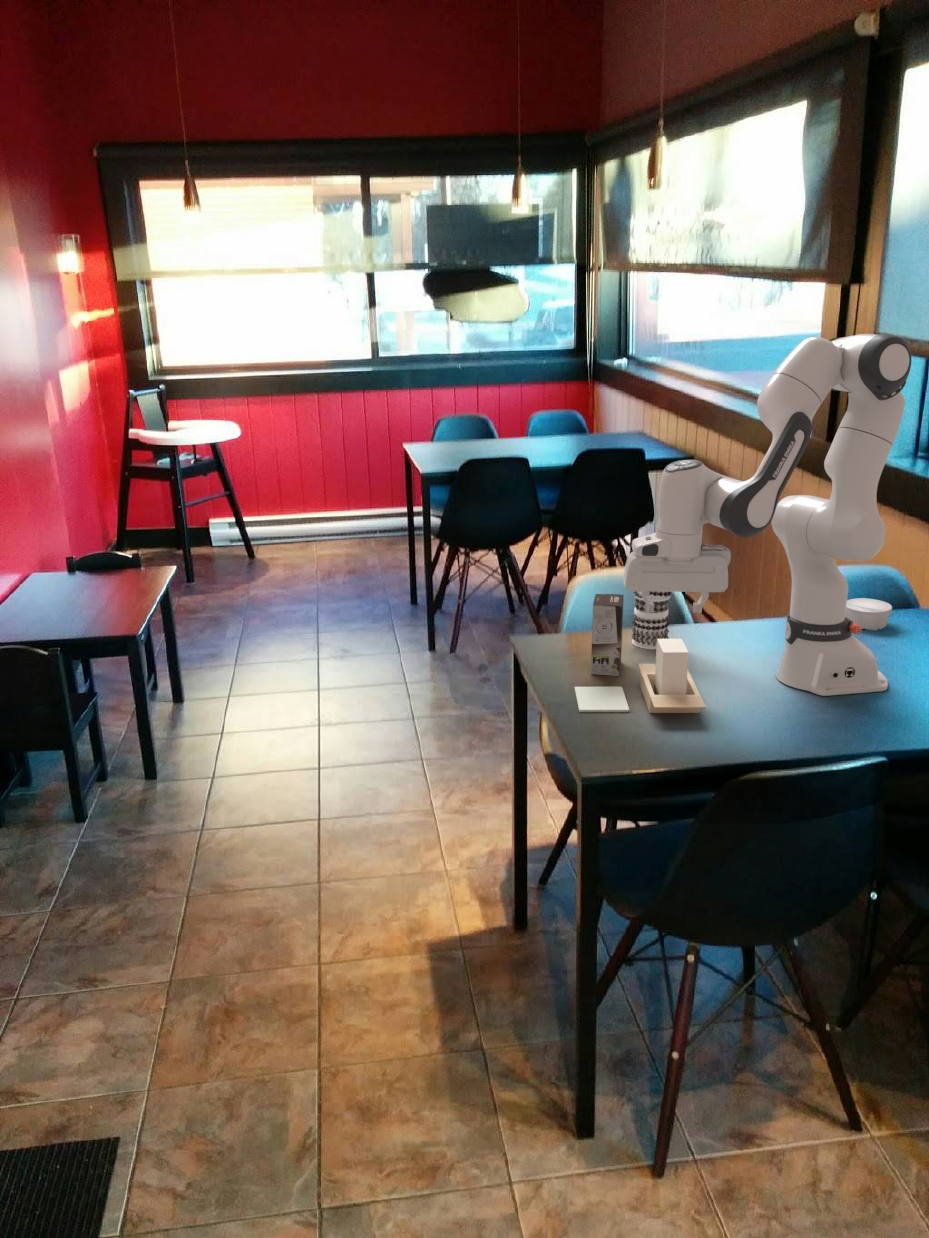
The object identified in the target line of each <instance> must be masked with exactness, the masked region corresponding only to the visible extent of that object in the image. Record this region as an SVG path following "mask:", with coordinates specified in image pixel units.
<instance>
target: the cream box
mask: <svg viewBox="0 0 929 1238" xmlns="http://www.w3.org/2000/svg"><path fill="white" fill-rule="evenodd" d="M655 652H656V653H655V664H656V667H655V687H654V690H653V691H654V694H655V695H686V688H687V672H688V671H689V669H688V668H689V667H688V666H689V655H690V652H689V650H688V648H687V647H686V644H685V642H684V640H683V639H682V638H668V639H657V648H656V649H655Z"/></svg>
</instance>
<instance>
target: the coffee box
mask: <svg viewBox="0 0 929 1238" xmlns="http://www.w3.org/2000/svg"><path fill="white" fill-rule="evenodd" d="M623 619H624V594H620V593H618V594H616V593H595V596H594V599H593V604H592V623H591V624H592V625H591V627H592V628H591V631H592V632H591V655H590V656H591V657H590V659H591V661H590V674H591V675H599V676H602V675H603V676H612V677H618V676H620V671H621V669H620V668H621V663H622V647H623V646H622V645H623V626H624V625H623V624H624V623H623Z"/></svg>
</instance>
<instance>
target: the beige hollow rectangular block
mask: <svg viewBox="0 0 929 1238" xmlns="http://www.w3.org/2000/svg"><path fill="white" fill-rule="evenodd" d="M637 667H638V669H639V672H640V690H641V693H642V696H643V699H644V702H645V703H646V707H647V709H648V712H649V714H700V713H701V709H707V705H706V703H705V701H704V699H703V697H702V695H701V693H700V691H699V689H698V687H697V686H696V683H695V681H694V679H693V677H692V675H691V674H690V671H689V670H688V672H687V688H686V695H655V693H654V687H655V667H656V663H637Z"/></svg>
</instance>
